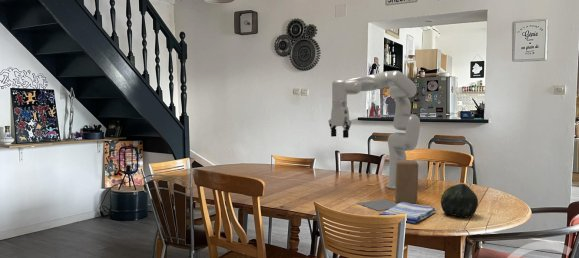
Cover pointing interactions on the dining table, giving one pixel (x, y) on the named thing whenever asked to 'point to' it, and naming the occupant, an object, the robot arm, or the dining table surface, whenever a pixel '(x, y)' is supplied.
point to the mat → (379, 204)
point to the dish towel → (411, 211)
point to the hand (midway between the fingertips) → (339, 137)
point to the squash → (459, 201)
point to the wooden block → (406, 181)
